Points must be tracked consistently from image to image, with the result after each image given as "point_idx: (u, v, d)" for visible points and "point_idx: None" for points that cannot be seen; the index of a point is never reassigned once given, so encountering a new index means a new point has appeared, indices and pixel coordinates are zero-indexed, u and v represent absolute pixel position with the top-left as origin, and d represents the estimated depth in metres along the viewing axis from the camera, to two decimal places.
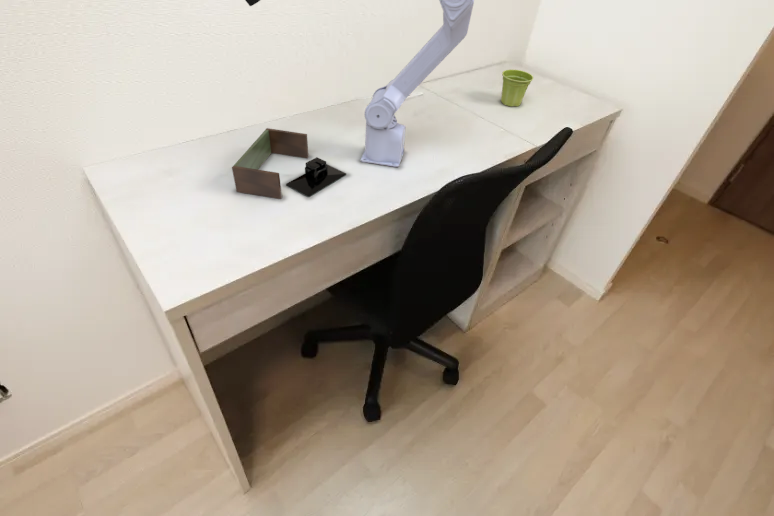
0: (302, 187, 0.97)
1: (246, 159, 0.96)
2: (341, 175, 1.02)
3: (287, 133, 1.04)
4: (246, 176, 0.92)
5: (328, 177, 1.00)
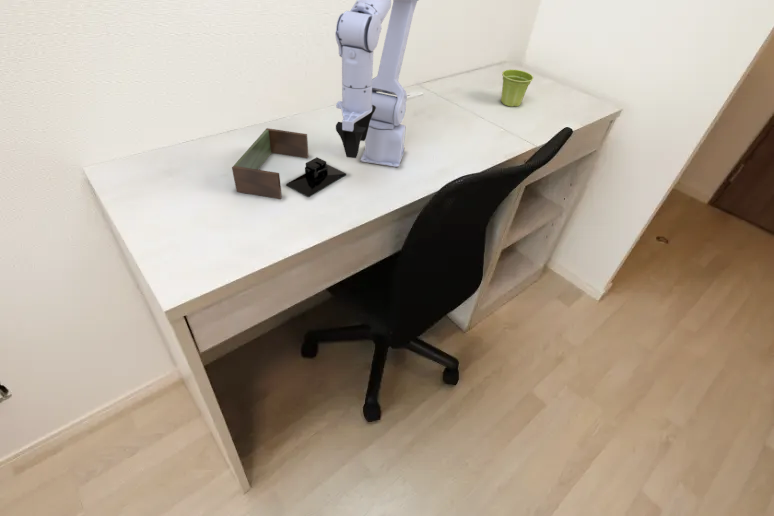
0: (302, 187, 0.97)
1: (246, 159, 0.96)
2: (341, 175, 1.02)
3: (287, 133, 1.04)
4: (246, 176, 0.92)
5: (328, 177, 1.00)
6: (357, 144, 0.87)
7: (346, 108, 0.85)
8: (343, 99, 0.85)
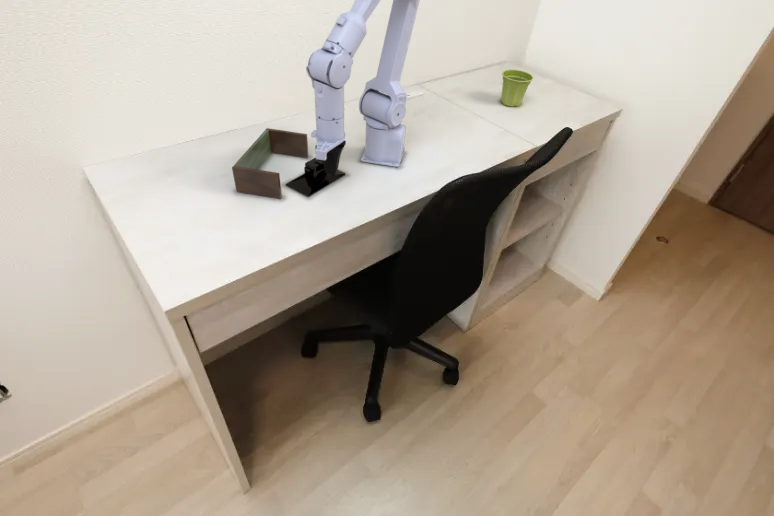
0: (302, 187, 0.97)
1: (246, 159, 0.96)
2: (340, 175, 1.02)
3: (287, 133, 1.04)
4: (246, 176, 0.92)
5: (327, 177, 1.00)
6: (335, 163, 0.95)
7: (320, 138, 0.91)
8: (317, 129, 0.90)
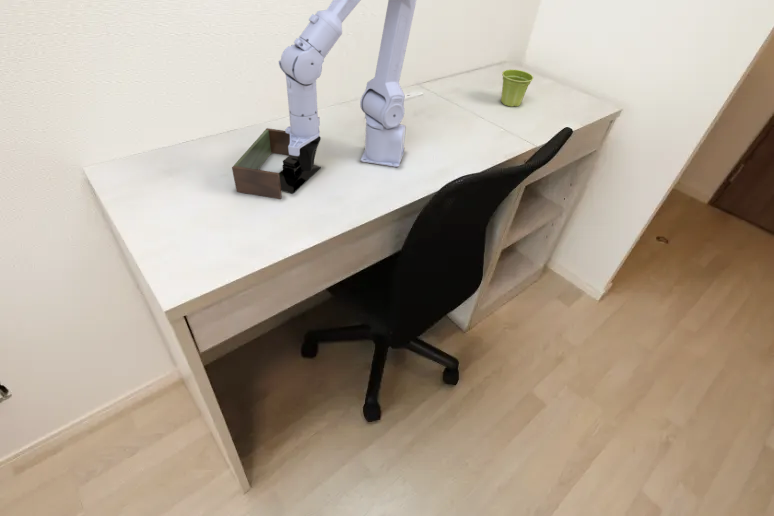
0: (283, 185, 0.97)
1: (246, 159, 0.96)
2: (317, 169, 1.03)
3: None
4: (246, 176, 0.92)
5: (305, 172, 1.01)
6: (310, 159, 0.96)
7: (294, 134, 0.91)
8: (291, 125, 0.91)
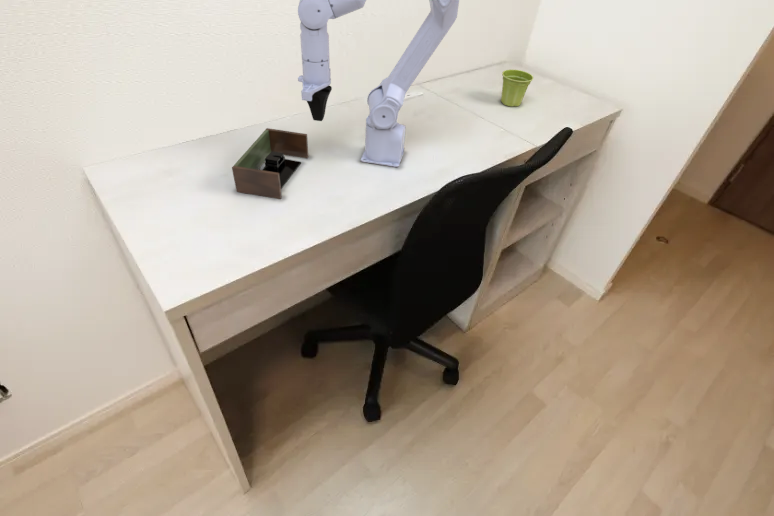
0: None
1: (246, 159, 0.96)
2: (297, 164, 1.04)
3: (287, 133, 1.04)
4: (246, 176, 0.92)
5: (287, 169, 1.02)
6: (322, 107, 0.99)
7: (306, 81, 0.94)
8: (303, 72, 0.94)
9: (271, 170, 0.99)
